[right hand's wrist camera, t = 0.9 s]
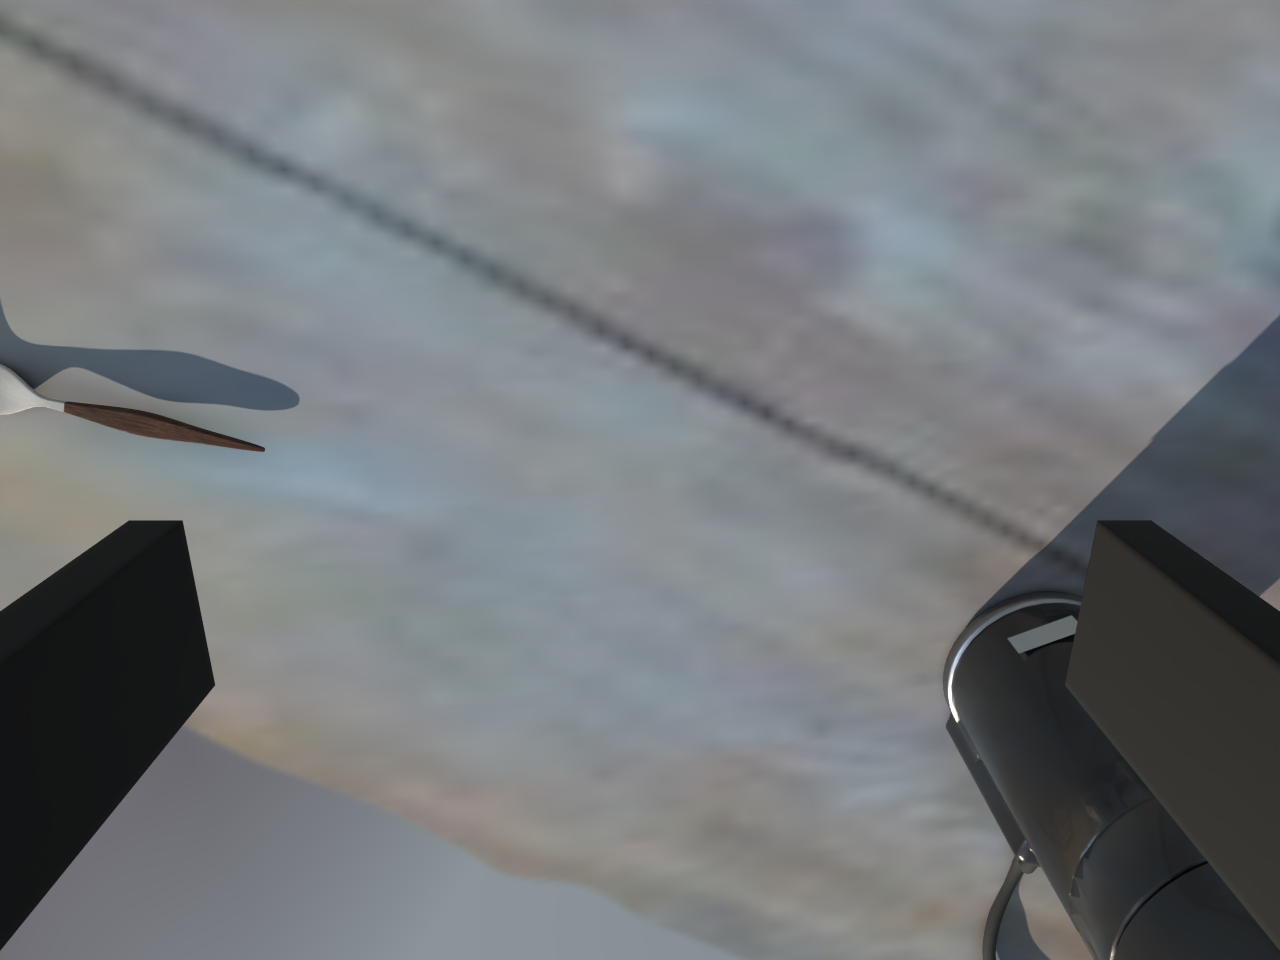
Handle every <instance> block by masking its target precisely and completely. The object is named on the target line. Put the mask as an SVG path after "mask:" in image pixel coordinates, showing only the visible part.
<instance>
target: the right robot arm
mask: <svg viewBox="0 0 1280 960" xmlns="http://www.w3.org/2000/svg"><path fill="white" fill-rule="evenodd" d="M214 686H215V682H214V677H213V672H212V667H211V662H210V657H209V652H208V647H207V642H206V637H205V632H204V626H203V621H202V616H201V611H200V606H199V601H198V596H197V591H196V586H195V581H194V576H193V571H192V566H191V561H190V556H189V551H188V546H187V541H186V536H185V531H184V526H183V521H128V522H126V523H125V524H124V525H122V526H121V527H119V528H118V529H116V530H115V531H114V532H112V533H111V534H109V535H108V536H107V537H105V538H104V539H102V540H101V541H99V542H98V543H97V544H95V545H94V546H92V547H91V548H89V549H88V550H87V551H85V552H84V553H82V554H81V555H80V556H78V557H77V558H75V559H74V560H72V561H71V562H70V563H68V564H67V565H65V566H64V567H63V568H61V569H60V570H58V571H57V572H55V573H54V574H53V575H51V576H50V577H48V578H47V579H46V580H44V581H43V582H41V583H40V584H38V585H37V586H36V587H34V588H33V589H31V590H30V591H29V592H27V593H26V594H24V595H23V596H21V597H20V598H19V599H17V600H16V601H14V602H13V603H12V604H10V605H9V606H7V607H6V608H4V609H3V610H2V611H0V950H1V949H2V948H3V947H4V945H5V944H6V943H7V942H8V940H9V939H10V938H11V937H12V935H13V934H14V933H15V932H16V930H17V929H18V928H19V927H20V926H21V924H22V923H23V922H24V921H25V919H26V918H27V917H28V916H29V914H30V913H31V912H32V911H33V910H34V908H35V907H36V906H37V905H38V903H39V902H40V901H41V900H42V898H43V897H44V896H45V895H46V893H47V892H48V891H49V890H50V888H51V887H52V886H53V885H54V884H55V882H56V881H57V880H58V879H59V877H60V876H61V875H62V874H63V872H64V871H65V870H66V869H67V867H68V866H69V865H70V864H71V862H72V861H73V860H74V859H75V858H76V856H77V855H78V854H79V853H80V851H81V850H82V849H83V848H84V846H85V845H86V844H87V843H88V842H89V840H90V839H91V838H92V837H93V835H94V834H95V833H96V832H97V830H98V829H99V828H100V827H101V825H102V824H103V823H104V822H105V821H106V819H107V818H108V817H109V816H110V814H111V813H112V812H113V811H114V809H115V808H116V807H117V806H118V804H119V803H120V802H121V801H122V800H123V798H124V797H125V796H126V795H127V793H128V792H129V791H130V790H131V788H132V787H133V786H134V785H135V784H136V782H137V781H138V780H139V779H140V777H141V776H142V775H143V774H144V772H145V771H146V770H147V769H148V767H149V766H150V765H151V764H152V762H153V761H154V760H155V759H156V758H157V756H158V755H159V754H160V753H161V751H162V750H163V749H164V748H165V746H166V745H167V744H168V743H169V741H170V740H171V739H172V738H173V737H174V735H175V734H176V733H177V732H178V730H179V729H180V728H181V727H182V725H183V724H184V723H185V722H186V720H187V719H188V718H189V717H190V716H191V714H192V713H193V712H194V711H195V709H196V708H197V707H198V706H199V704H200V703H201V702H202V701H203V699H204V698H205V697H206V696H207V695H208V693H209V692H210V691H211V690H212V688H213V687H214ZM1065 686H1066V687H1067V688H1068V690H1069V691H1070V692H1071V693H1072V695H1073V696H1074V697H1075V698H1076V699H1077V701H1078V702H1079V703H1080V704H1081V706H1082V707H1083V708H1084V709H1085V711H1086V712H1087V713H1088V714H1089V716H1090V717H1091V718H1092V719H1093V720H1094V722H1095V723H1096V724H1097V725H1098V727H1099V728H1100V729H1101V730H1102V732H1103V733H1104V734H1105V735H1106V737H1107V738H1108V739H1109V740H1110V741H1111V743H1112V744H1113V745H1114V746H1115V748H1116V749H1117V750H1118V751H1119V753H1120V754H1121V755H1122V756H1123V758H1124V759H1125V760H1126V761H1127V762H1128V764H1129V765H1130V766H1131V767H1132V769H1133V770H1134V771H1135V772H1136V774H1137V775H1138V776H1139V777H1140V779H1141V780H1142V781H1143V782H1144V784H1145V785H1146V786H1147V787H1148V788H1149V790H1150V791H1151V792H1152V793H1153V795H1154V796H1155V797H1156V798H1157V800H1158V801H1159V802H1160V803H1161V805H1162V806H1163V807H1164V808H1165V809H1166V811H1167V812H1168V813H1169V814H1170V816H1171V817H1172V818H1173V819H1174V821H1175V822H1176V823H1177V824H1178V826H1179V827H1180V828H1181V829H1182V830H1183V832H1184V833H1185V834H1186V835H1187V837H1188V838H1189V839H1190V840H1191V842H1192V843H1193V844H1194V845H1195V847H1196V848H1197V849H1198V850H1199V851H1200V853H1201V854H1202V855H1203V856H1204V858H1205V859H1206V860H1207V861H1208V863H1209V864H1210V865H1211V866H1212V868H1213V869H1214V870H1215V871H1216V872H1217V874H1218V875H1219V876H1220V877H1221V879H1222V880H1223V881H1224V882H1225V884H1226V885H1227V886H1228V887H1229V889H1230V890H1231V891H1232V892H1233V893H1234V895H1235V896H1236V897H1237V898H1238V900H1239V901H1240V902H1241V903H1242V905H1243V906H1244V907H1245V908H1246V910H1247V911H1248V912H1249V913H1250V914H1251V916H1252V917H1253V918H1254V919H1255V921H1256V922H1257V923H1258V924H1259V926H1260V927H1261V928H1262V929H1263V931H1264V932H1265V933H1266V934H1267V935H1268V937H1269V938H1270V939H1271V940H1272V942H1273V943H1274V944H1275V945H1276V947H1277V948H1278V949H1279V950H1280V611H1278V610H1277V609H1276V608H1274V607H1273V606H1271V605H1270V604H1268V603H1267V602H1266V601H1264V600H1263V599H1261V598H1260V597H1259V596H1257V595H1256V594H1254V593H1253V592H1251V591H1250V590H1249V589H1247V588H1246V587H1244V586H1243V585H1242V584H1240V583H1239V582H1237V581H1236V580H1234V579H1233V578H1232V577H1230V576H1229V575H1227V574H1226V573H1225V572H1223V571H1222V570H1220V569H1219V568H1217V567H1216V566H1215V565H1213V564H1212V563H1210V562H1209V561H1208V560H1206V559H1205V558H1203V557H1202V556H1200V555H1199V554H1198V553H1196V552H1195V551H1193V550H1192V549H1191V548H1189V547H1188V546H1186V545H1185V544H1183V543H1182V542H1181V541H1179V540H1178V539H1176V538H1175V537H1173V536H1172V535H1171V534H1169V533H1168V532H1166V531H1165V530H1164V529H1162V528H1161V527H1159V526H1158V525H1156V524H1155V523H1154V522H1152V521H1097V526H1096V531H1095V536H1094V541H1093V546H1092V551H1091V556H1090V561H1089V566H1088V571H1087V576H1086V581H1085V586H1084V591H1083V596H1082V601H1081V606H1080V611H1079V616H1078V621H1077V626H1076V632H1075V637H1074V642H1073V647H1072V652H1071V657H1070V662H1069V667H1068V672H1067V677H1066V682H1065Z"/></svg>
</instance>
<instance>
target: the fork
mask: <svg viewBox="0 0 1280 960" xmlns="http://www.w3.org/2000/svg"><path fill="white" fill-rule="evenodd" d="M37 406H42V407H48V408H52V409H56V410H59V411H63V412H66V413H69V414H72V415H75V416H78V417H81V418H84V419H87V420H90V421H93V422H96V423H99V424H102V425H105V426H108V427H111V428H115V429H118V430H121V431H124V432H128V433H132V434H136V435H140V436H146V437H152V438H159V439H167V440H175V441H184V442H192V443H200V444H207V445H214V446H221V447H228V448H235V449H243V450H251V451H261V452H264V451H265V448H264V447H261V446H259V445H256V444H252V443H249V442H246V441H243V440H239V439H236V438H233V437H229V436H226V435H222V434H219V433H215V432H212V431H208V430H205V429H202V428H198V427H195V426H192V425H189V424H186V423H183V422H180V421H177V420H174V419H170V418H167V417H164V416H161V415H157V414H153V413H150V412H145V411H140V410H134V409H127V408H120V407H111V406H103V405H94V404H85V403H75V402H67V401H59V400H53V399H49V398H46V397H44V396H42V395H40V394H38V393H37V392H36V391H35V390H33V389H32V388H31V387H30V386H29V385H28V384H27V383H26V382H25V381H24V380H23V379H22V378H21V377H19V376H18V375H17V374H16V373H15V372H14V371H12V370H11V369H9V368H8V367H6V366H4V365H2V364H0V415H4V414H12V413H16V412H19V411H22V410H25V409H28V408H32V407H37Z"/></svg>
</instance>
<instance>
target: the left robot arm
mask: <svg viewBox="0 0 1280 960" xmlns="http://www.w3.org/2000/svg"><path fill="white" fill-rule="evenodd" d="M1081 601H1082V598H1081V597H1078V596H1074V595H1070V594H1066V593H1058V592H1037V593H1030V594H1025V595H1021V596H1017V597H1014V598H1011V599H1008V600H1006V601H1003V602H1001V603H999V604H997V605H995V606H993V607H991V608H990V609H988V610H987V611H985V612H984V613H982V614H981V615H979V616H978V617H977V618H976V619H975V620H973V621H972V622H971V623H970V624H969V625H968V626H967V627H966V628H965V629H964V630H963V632H962V633H961V634H960V635H959V637H958V638H957V640H956V641H955V643H954V645H953V646H952V648H951V650H950V652H949V655H948V657H947V660H946V664H945V668H944V674H943V689H944V695H945V699H946V702H947V704H948V707H949V709H950V711H951V714H950V718H949V720H948V722H947V724H946V729H947V730H948V732H949V734H950V736H951V738H952V740H953V742H954V743H955V745H956V747H957V749H958V751H959V753H960V755H961V756H962V758H963V760H964V762H965V764H966V766H967V767H968V769H969V771H970V773H971V775H972V777H973V779H974V780H975V782H976V784H977V786H978V788H979V790H980V792H981V793H982V795H983V797H984V799H985V801H986V803H987V805H988V806H989V808H990V810H991V812H992V814H993V816H994V818H995V819H996V821H997V823H998V825H999V827H1000V829H1001V831H1002V832H1003V834H1004V836H1005V838H1006V840H1007V842H1008V844H1009V845H1010V847H1011V849H1012V851H1013V853H1014V855H1015V858H1014V859H1013V861H1012V865H1011V867H1010V870H1009V872H1008V875H1007V877H1006V879H1005V882H1004V884H1003V886H1002V887H1001V889H1000V891H999V893H998V895H997V897H996V899H995V901H994V903H993V905H992V907H991V910H990V912H989V916H988V919H987V923H986V927H985V932H984V938H983V960H996V942H997V936H998V931H999V927H1000V924H1001V920H1002V917H1003V914H1004V911H1005V909H1006V906H1007V904H1008V901H1009V899H1010V897H1011V894H1012V892H1013V890H1014V888H1015V886H1016V884H1017V882H1018V880H1019V878H1020V877H1021V875H1022V873H1023V872H1024V873H1026V874H1030V873H1032V872H1034V870H1035V869H1036V868H1037V867H1038V866H1039V867H1041V868H1042V869H1043V871H1044V873H1045V875H1046V876H1047V878H1048V880H1049V882H1050V884H1051V885H1052V887H1053V889H1054V891H1055V892H1056V894H1057V896H1058V898H1059V899H1060V901H1061V903H1062V905H1063V906H1064V908H1065V910H1066V912H1067V913H1068V915H1069V917H1070V919H1071V921H1072V922H1073V924H1074V926H1075V928H1076V929H1077V931H1078V932H1079V934H1080V936H1081V938H1082V939H1083V941H1084V943H1085V945H1086V946H1087V948H1088V950H1089V952H1090V953H1091V955H1092V957H1093V959H1094V960H1280V950H1279V949H1278V948H1277V947H1276V945H1275V944H1274V943H1273V942H1272V940H1271V939H1270V938H1269V937H1268V935H1267V934H1266V933H1265V932H1264V931H1263V929H1262V928H1261V927H1260V926H1259V924H1258V923H1257V922H1256V921H1255V919H1254V918H1253V917H1252V916H1251V914H1250V913H1249V912H1248V911H1247V910H1246V908H1245V907H1244V906H1243V905H1242V903H1241V902H1240V901H1239V900H1238V898H1237V897H1236V896H1235V895H1234V893H1233V892H1232V891H1231V890H1230V889H1229V887H1228V886H1227V885H1226V884H1225V882H1224V881H1223V880H1222V879H1221V877H1220V876H1219V875H1218V874H1217V872H1216V871H1215V870H1214V869H1213V868H1212V866H1211V865H1210V864H1209V863H1208V861H1207V860H1206V859H1205V858H1204V856H1203V855H1202V854H1201V853H1200V851H1199V850H1198V849H1197V848H1196V847H1195V845H1194V844H1193V843H1192V842H1191V840H1190V839H1189V838H1188V837H1187V835H1186V834H1185V833H1184V832H1183V830H1182V829H1181V828H1180V827H1179V826H1178V824H1177V823H1176V822H1175V821H1174V819H1173V818H1172V817H1171V816H1170V814H1169V813H1168V812H1167V811H1166V809H1165V808H1164V807H1163V806H1162V805H1161V803H1160V802H1159V801H1158V800H1157V798H1156V797H1155V796H1154V795H1153V793H1152V792H1151V791H1150V790H1149V788H1148V787H1147V786H1146V785H1145V784H1144V782H1143V781H1142V780H1141V779H1140V777H1139V776H1138V775H1137V774H1136V772H1135V771H1134V770H1133V769H1132V767H1131V766H1130V765H1129V764H1128V762H1127V761H1126V760H1125V759H1124V758H1123V756H1122V755H1121V754H1120V753H1119V751H1118V750H1117V749H1116V748H1115V746H1114V745H1113V744H1112V743H1111V741H1110V740H1109V739H1108V738H1107V737H1106V735H1105V734H1104V733H1103V732H1102V730H1101V729H1100V728H1099V727H1098V725H1097V724H1096V723H1095V722H1094V720H1093V719H1092V718H1091V717H1090V716H1089V714H1088V713H1087V712H1086V711H1085V709H1084V708H1083V707H1082V706H1081V704H1080V703H1079V702H1078V701H1077V699H1076V698H1075V697H1074V696H1073V695H1072V693H1071V692H1070V691H1069V690H1068V688H1067V687H1066V686H1065V682H1066V677H1067V672H1068V667H1069V662H1070V657H1071V652H1072V647H1073V642H1074V637H1075V632H1076V626H1077V621H1078V616H1079V611H1080V606H1081Z"/></svg>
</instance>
